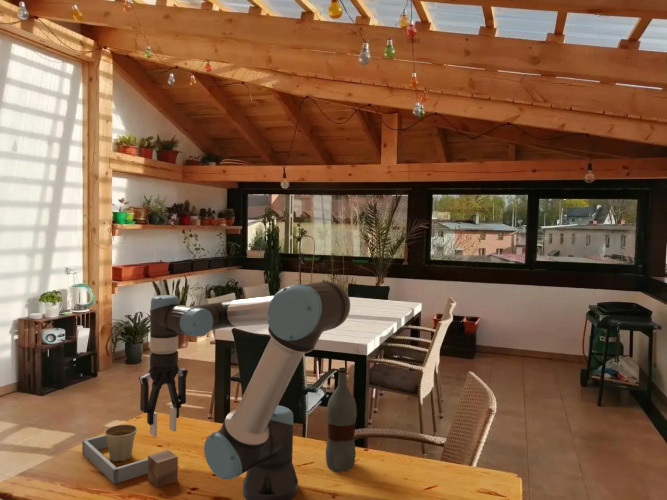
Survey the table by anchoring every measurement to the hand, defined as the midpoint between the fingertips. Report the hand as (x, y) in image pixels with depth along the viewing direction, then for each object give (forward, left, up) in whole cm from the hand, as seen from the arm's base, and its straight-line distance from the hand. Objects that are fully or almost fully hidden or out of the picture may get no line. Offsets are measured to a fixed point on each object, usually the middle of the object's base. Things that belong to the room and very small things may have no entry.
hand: (163, 432), depth 145 cm
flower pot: (+22, +3, -14) cm, 26 cm away
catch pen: (+20, +4, -14) cm, 24 cm away
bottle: (-26, -44, -14) cm, 54 cm away
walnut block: (0, 0, -14) cm, 14 cm away
